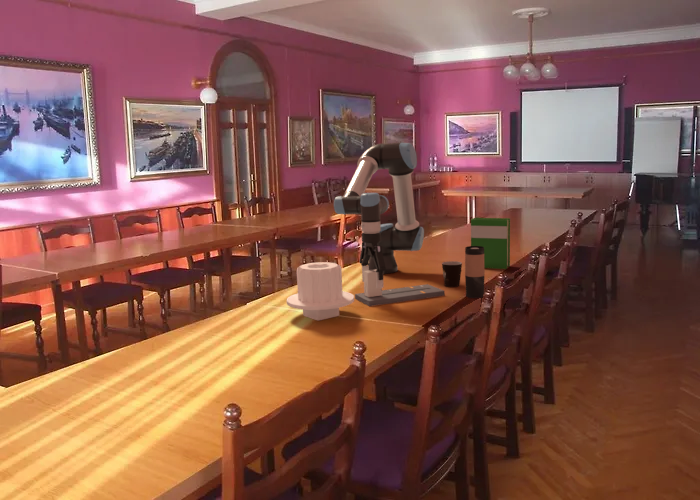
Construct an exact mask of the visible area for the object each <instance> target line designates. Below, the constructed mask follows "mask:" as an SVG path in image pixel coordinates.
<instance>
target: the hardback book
mask: <svg viewBox="0 0 700 500" xmlns="http://www.w3.org/2000/svg"><path fill="white" fill-rule="evenodd" d="M470 246H482V247H484V269H498V270H507V269H508V267H511V218H509V217H508V218H507V217H503V218H502V217H499V218H498V217H473V218H471V219H470Z"/></svg>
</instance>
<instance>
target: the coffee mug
mask: <svg viewBox="0 0 700 500" xmlns="http://www.w3.org/2000/svg"><path fill="white" fill-rule="evenodd" d="M441 265H442V266H441V267H442V277H443V281H444V286H445V287H446V288H457V287H460V284H461V276H462V275H461V274H462V266H463V262H461V261H452V260H451V261H450V260H449V261H443V262H441Z"/></svg>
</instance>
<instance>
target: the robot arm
mask: <svg viewBox="0 0 700 500" xmlns="http://www.w3.org/2000/svg"><path fill="white" fill-rule="evenodd" d="M417 158H418V156H417V152H416V148H415V147H414V145H413V144H412V143H410V142H401V141H400V142H391V143H376V144H374V145H371V147H369V148H367V149H366V150H365V151H364V152H363V153H362V154H361V155H360V156H359V158H358V160H357V165H356V166H357V167H356V169H355V172H353V176H352V178H351V179H350V182H349V184H348V185H347V188H346V190H345V191H344V193H343V195H339V196H336V197H335V198H334V201H333V209H334V212H335V213H336V214H337V215H345V216H346V215H360V220H361V222H360V223H361V224H360V227H361V232H362V233H361V249H360V256H359V259H358V261H359V264H360V265H361V274H362V275H361V278H362V279H361V281H362V283H364V272H363V271H367V270H376V269H377V270H376V288H382V289H383V288H384V274H385V275H386V274H387V275H388V274H393V273H396V272H398V268H399V267H398V264H397V260H396V258H395V251H397V252H399V251H401V252H406V251H407V252H409V251H410V252H417V251H420V250H421V248H422V247H423V243H424V237H425V229H424V227H423V226H420V222H419V221H418V220H417V219H416V210H415V209H416V208H415V201H414V200H415V199H414V190H413V181H412V174H413V173H414V171H415V169H416V168H417V165H418V159H417ZM378 170H387V172H388V174H389V176H391V178H392V183H393V193H394V200H395V209H396V216H397V217H396V218H397V222H396V223H395V225H394V223H382V224H381V215H383V214H384V213H386V211H388V209H389V207H390V202H389V199H388V198H387V197H386V196H385V195H381V194H379V193H378V192H365V191H366V189H367V187H368V186H369V183H370V181H371V179H372V177H373V175H374V174H375V173H376V172H377V171H378Z"/></svg>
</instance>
